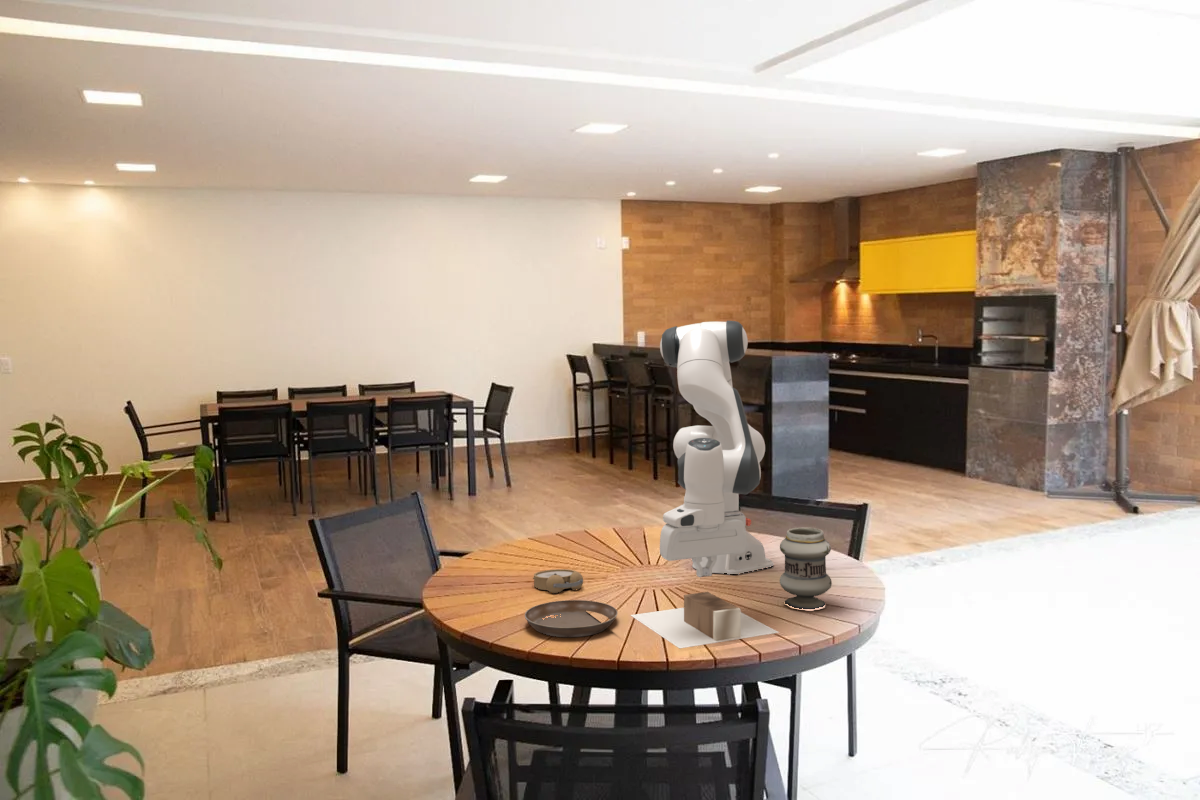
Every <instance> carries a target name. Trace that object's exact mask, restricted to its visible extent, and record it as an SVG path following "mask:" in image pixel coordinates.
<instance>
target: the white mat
mask: <svg viewBox="0 0 1200 800" xmlns="http://www.w3.org/2000/svg"><path fill="white" fill-rule="evenodd" d="M629 616H630V617H632V618H633V619H635V620H637V621H638V622H640V623H641V624H642V625H644V626H645V627H647V628H648V629H650V630H651V631H652V632H654V633H656V634H657V635H659V636H660V637H662V638H663V639H664V640H666V641H667V642H669V643H670V644H672V645H673V646H675V647H676V648H678V649H680V650H681V649H685V648H691V647H699V646H703V645H709V644H710V645H711V644H716V643H722V642H730V641H735V640H742V639H747V638H754V637H760V636H766V635H773V634H778V633H780V632H779V631H777V630H775V629H773V628H772V627H770V626H768V625H765V624H764V623H762V622H760V621H758V620H756V619H754V618H753V617H751V616H749V615H747V614H746V613H744V612H742V611H741V637H736V638H730V639H724V640H717V641H715V640H714V639H712V638H710V637H709V636H707V635H705V634H704V633H702V632H701V631H699V630H697V629H696V628H694V627H692V626H691V625H689V624H687V623H686V622H684V607H679V608H677V607H676V608H672V609H663V610H658V611H650V612H643V613H637V614H630V615H629Z"/></svg>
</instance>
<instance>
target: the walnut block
mask: <svg viewBox="0 0 1200 800" xmlns="http://www.w3.org/2000/svg"><path fill="white" fill-rule="evenodd" d="M683 608H684V622H686V623H687V624H689V625H691V626H692V627H694V628H696V629H697V630H699V631H701V632H702V633H704V634H705V635H707V636H709V637H710V638H712V639H714V640H715V641H717V640H724V639H730V638H736V637H741V612H742V610H741V608H740V607H738V606H735V604H732V603H730V602H728V601H726V600H724V599H722V598H720V597H719V596H717V595H714V594H713V593H711V592H709V591H703V592H697V593H687V594H684V595H683Z"/></svg>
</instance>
